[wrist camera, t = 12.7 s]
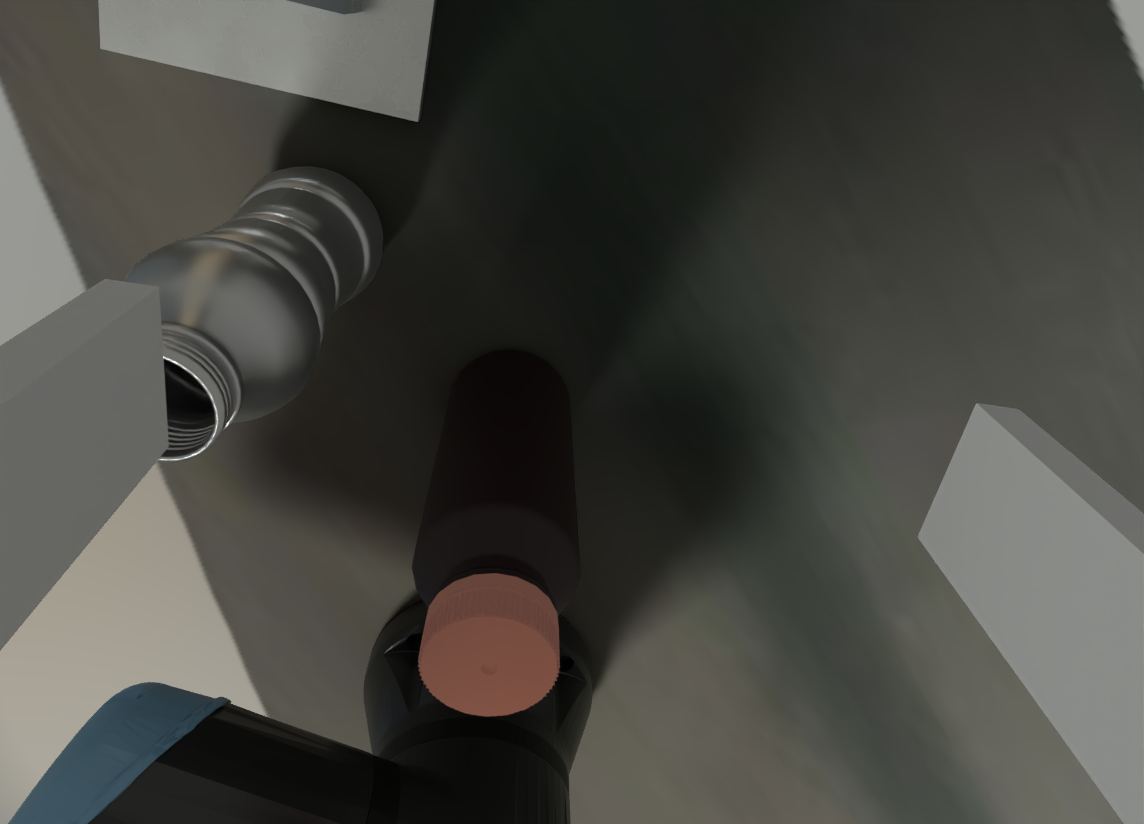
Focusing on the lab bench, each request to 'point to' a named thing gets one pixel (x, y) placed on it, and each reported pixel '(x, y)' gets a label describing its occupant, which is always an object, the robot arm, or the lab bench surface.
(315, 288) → the plastic bottle
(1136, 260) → the lab bench surface
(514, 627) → the vinegar
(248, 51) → the grey socket base
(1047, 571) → the robot arm
